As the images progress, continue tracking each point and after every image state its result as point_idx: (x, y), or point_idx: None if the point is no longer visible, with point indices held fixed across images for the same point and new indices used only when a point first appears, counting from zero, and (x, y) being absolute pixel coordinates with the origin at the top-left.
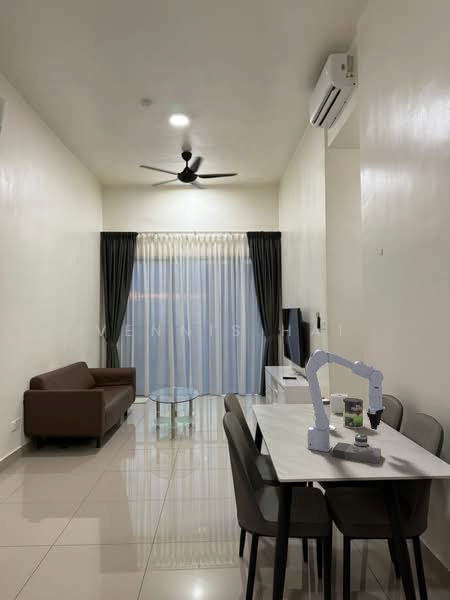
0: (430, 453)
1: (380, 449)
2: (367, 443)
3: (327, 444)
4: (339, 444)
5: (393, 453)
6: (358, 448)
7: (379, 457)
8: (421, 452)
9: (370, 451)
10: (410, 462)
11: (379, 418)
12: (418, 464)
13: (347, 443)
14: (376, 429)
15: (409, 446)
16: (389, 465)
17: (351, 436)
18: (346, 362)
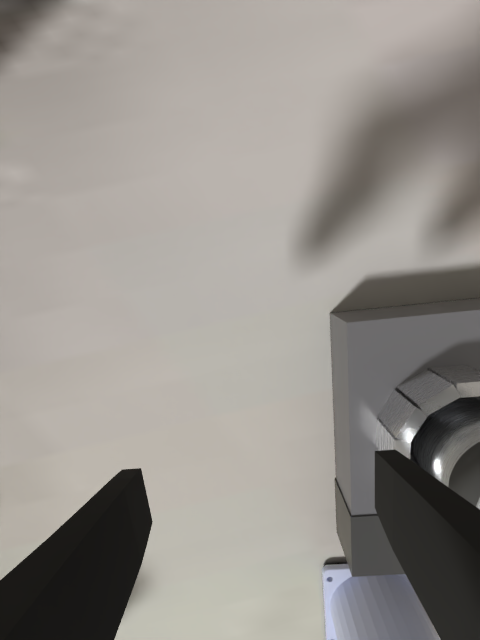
0: (68, 6)
1: (370, 321)
2: (406, 425)
3: (411, 608)
4: (397, 561)
5: (236, 256)
6: None
7: (406, 307)
8: (90, 80)
9: (474, 368)
10: (368, 107)
11: (59, 588)
12: (385, 41)
13: (350, 530)
14: (396, 451)
15: (9, 193)
16: None
17: None
18: None
